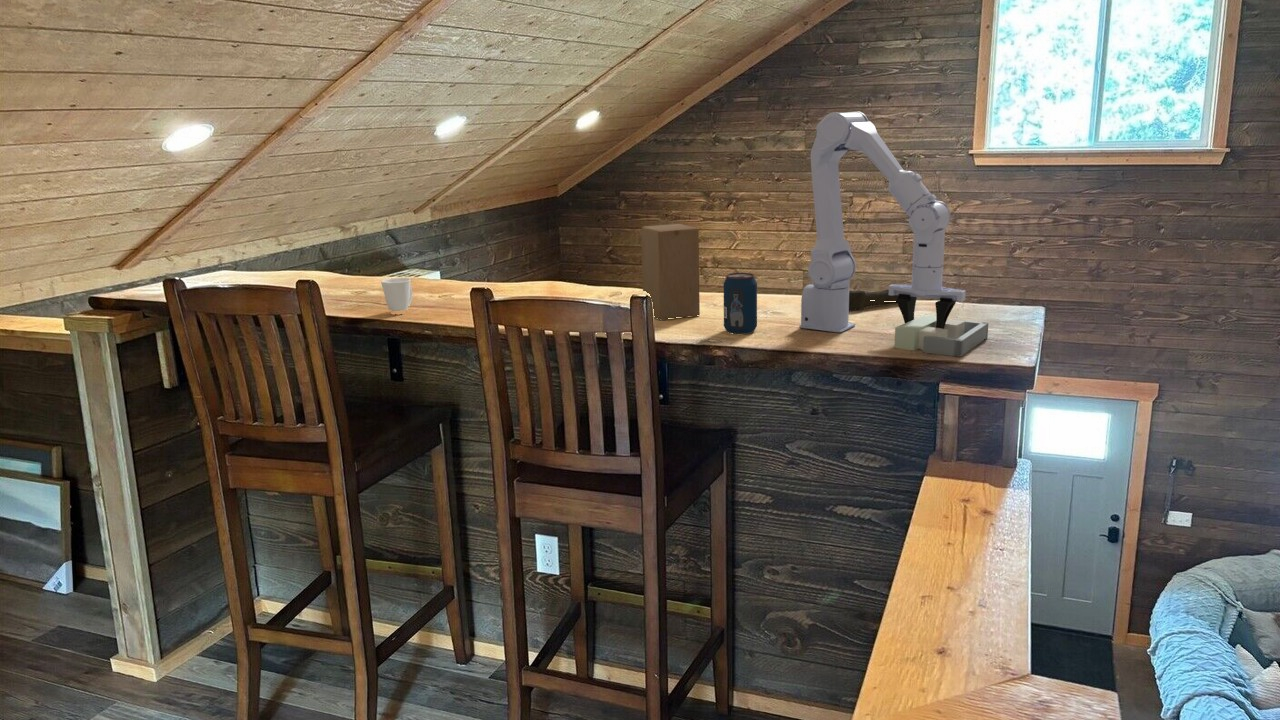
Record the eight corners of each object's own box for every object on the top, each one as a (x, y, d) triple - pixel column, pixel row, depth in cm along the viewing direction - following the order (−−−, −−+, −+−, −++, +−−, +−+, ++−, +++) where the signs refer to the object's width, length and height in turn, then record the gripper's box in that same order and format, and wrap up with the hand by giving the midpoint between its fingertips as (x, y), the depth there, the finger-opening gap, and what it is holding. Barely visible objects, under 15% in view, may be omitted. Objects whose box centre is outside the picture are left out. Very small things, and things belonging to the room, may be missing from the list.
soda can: (750, 326, 205) (750, 271, 202) (761, 333, 199) (761, 276, 195) (719, 329, 204) (719, 273, 201) (729, 336, 197) (729, 278, 194)
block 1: (918, 348, 184) (919, 330, 183) (927, 344, 187) (927, 326, 186) (938, 351, 181) (939, 333, 180) (946, 347, 184) (947, 329, 183)
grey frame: (922, 352, 181) (923, 336, 180) (952, 333, 194) (953, 319, 193) (960, 356, 177) (961, 341, 176) (987, 337, 190) (988, 322, 189)
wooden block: (700, 316, 216) (699, 227, 211) (659, 321, 213) (657, 231, 208) (682, 308, 225) (680, 223, 220) (642, 313, 222) (640, 226, 217)
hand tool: (900, 301, 227) (901, 282, 226) (911, 304, 223) (912, 285, 222) (834, 310, 220) (834, 290, 218) (844, 314, 216) (844, 293, 215)
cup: (378, 316, 227) (374, 282, 225) (399, 307, 236) (396, 275, 234) (404, 317, 225) (401, 283, 223) (425, 308, 234) (422, 275, 232)
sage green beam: (894, 347, 185) (895, 327, 184) (925, 333, 195) (926, 314, 194) (913, 350, 182) (914, 330, 181) (944, 336, 193) (945, 316, 191)
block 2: (936, 340, 190) (937, 322, 189) (944, 336, 193) (945, 319, 192) (955, 342, 187) (956, 325, 186) (963, 338, 190) (964, 321, 189)
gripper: (883, 265, 186) (881, 334, 189) (958, 271, 178) (954, 342, 181) (897, 260, 191) (894, 326, 195) (970, 265, 183) (966, 334, 187)
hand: (924, 334), depth 189 cm, fingers open, 5 cm apart
